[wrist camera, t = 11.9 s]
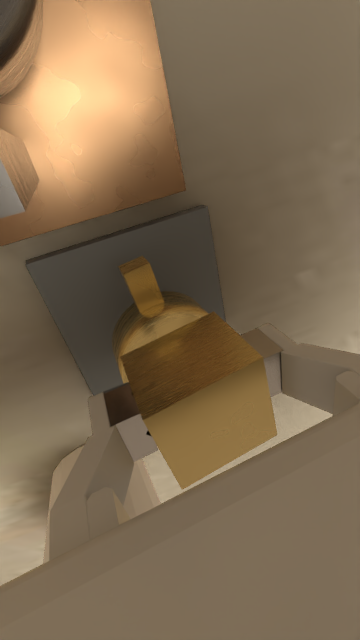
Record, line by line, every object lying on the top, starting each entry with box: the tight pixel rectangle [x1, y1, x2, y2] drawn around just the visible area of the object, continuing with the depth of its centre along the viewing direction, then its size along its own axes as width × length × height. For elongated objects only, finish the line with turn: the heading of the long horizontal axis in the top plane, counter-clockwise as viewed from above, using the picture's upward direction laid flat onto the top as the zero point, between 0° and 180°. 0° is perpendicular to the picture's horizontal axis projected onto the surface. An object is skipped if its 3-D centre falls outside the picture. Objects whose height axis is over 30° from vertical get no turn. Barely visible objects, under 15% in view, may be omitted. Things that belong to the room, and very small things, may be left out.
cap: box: [112, 256, 277, 489], centre depth 11 cm, size 8×4×6 cm, turn 18°
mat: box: [25, 205, 226, 396], centre depth 15 cm, size 8×8×1 cm
